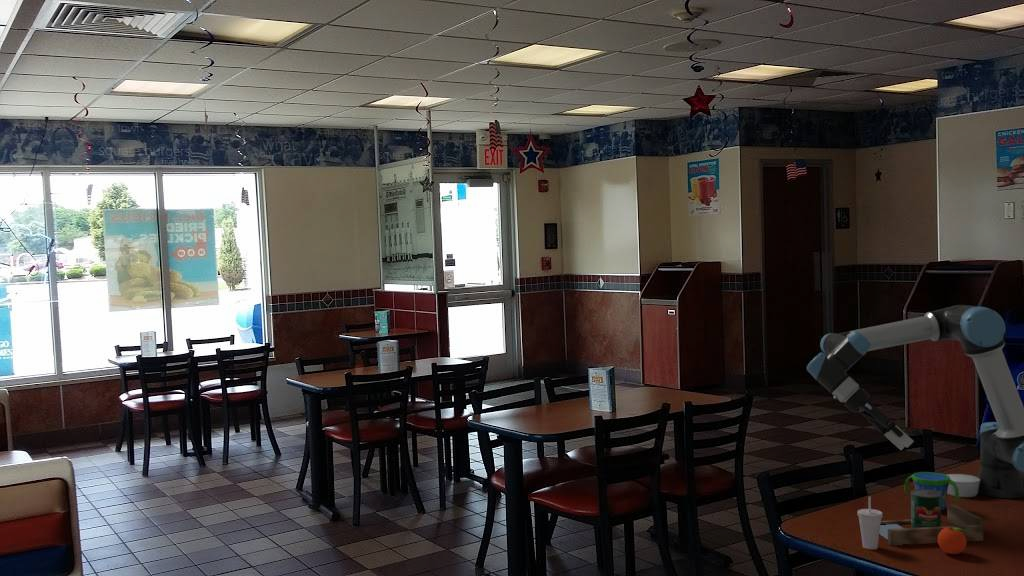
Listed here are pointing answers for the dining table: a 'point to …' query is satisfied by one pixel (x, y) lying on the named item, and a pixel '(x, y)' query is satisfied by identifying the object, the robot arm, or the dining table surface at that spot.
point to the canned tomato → (925, 508)
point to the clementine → (952, 540)
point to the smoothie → (870, 526)
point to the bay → (937, 528)
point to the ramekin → (964, 485)
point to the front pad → (885, 528)
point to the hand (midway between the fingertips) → (907, 446)
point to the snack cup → (933, 484)
